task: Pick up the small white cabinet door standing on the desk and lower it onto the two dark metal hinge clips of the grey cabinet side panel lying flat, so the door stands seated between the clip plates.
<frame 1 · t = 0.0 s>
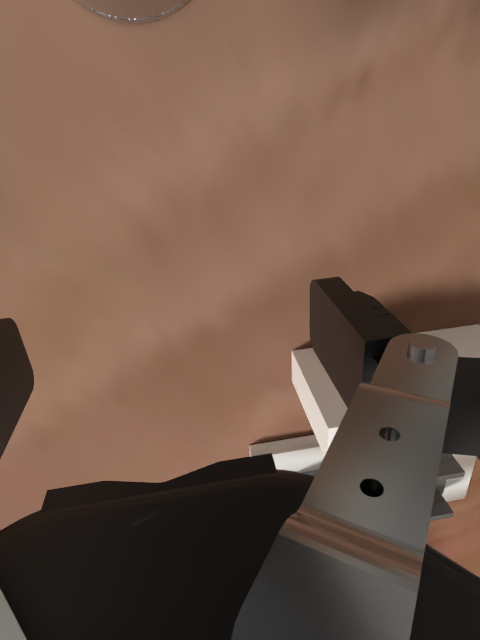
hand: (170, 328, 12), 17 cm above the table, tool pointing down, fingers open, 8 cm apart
door: (384, 351, 36), on the table
cabinet side: (361, 467, 42), on the table
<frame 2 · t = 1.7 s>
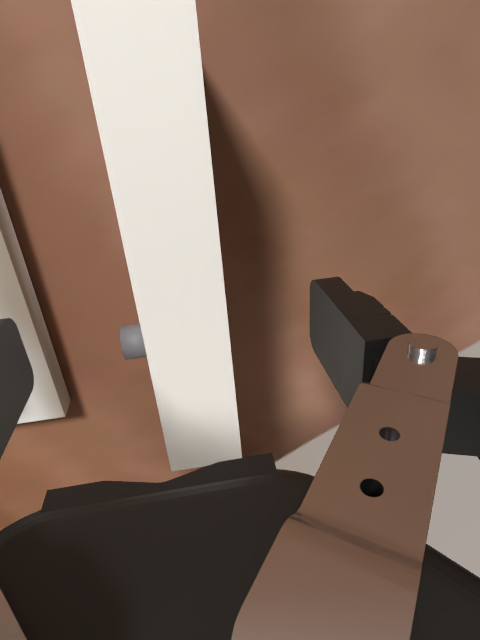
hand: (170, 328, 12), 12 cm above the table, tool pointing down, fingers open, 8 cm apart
door: (178, 223, 22), on the table
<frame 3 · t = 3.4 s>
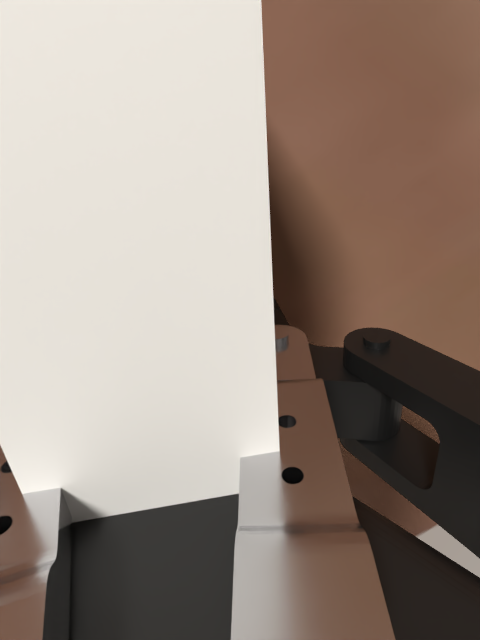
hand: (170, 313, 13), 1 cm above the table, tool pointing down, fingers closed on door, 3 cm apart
door: (171, 296, 14), on the table, touching gripper
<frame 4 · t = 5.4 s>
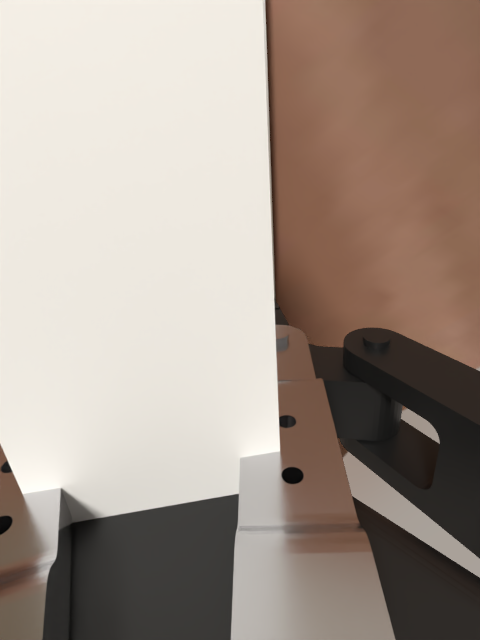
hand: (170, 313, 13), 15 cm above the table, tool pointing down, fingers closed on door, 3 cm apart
door: (171, 297, 14), point 14 cm above the table, touching gripper
cabinet side: (179, 201, 26), on the table
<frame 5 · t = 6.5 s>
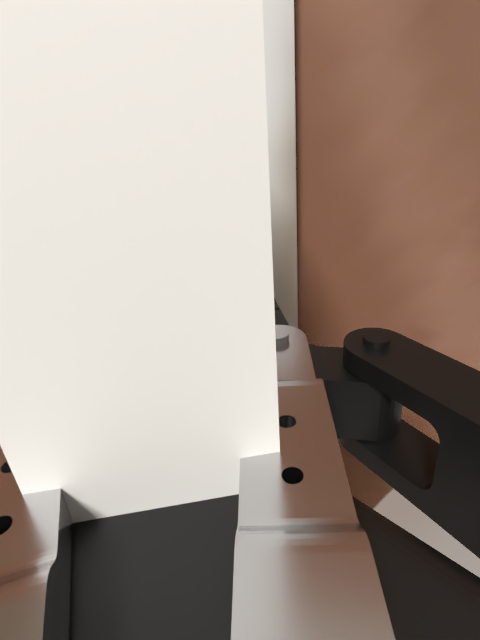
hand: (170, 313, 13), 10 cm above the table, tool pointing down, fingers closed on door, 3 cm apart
door: (171, 297, 14), point 8 cm above the table, touching gripper
cabinet side: (181, 228, 21), on the table
when the fingers open (5 cm above the table, at t = 7.6 s): door drops 2 cm, resting on cabinet side.
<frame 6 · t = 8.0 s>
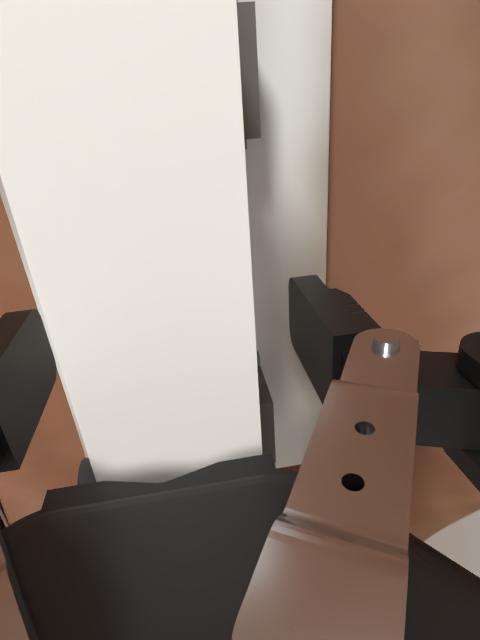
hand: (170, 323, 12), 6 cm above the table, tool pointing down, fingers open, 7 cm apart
door: (173, 274, 15), point 2 cm above the table, touching cabinet side
cabinet side: (182, 256, 17), on the table
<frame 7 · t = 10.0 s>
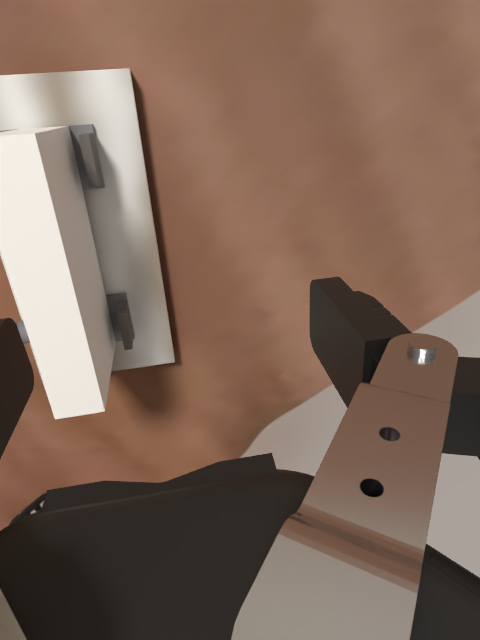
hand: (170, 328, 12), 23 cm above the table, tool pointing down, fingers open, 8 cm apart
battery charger: (37, 508, 44), on the table
door: (73, 248, 31), point 2 cm above the table, touching cabinet side
cabinet side: (82, 241, 32), on the table
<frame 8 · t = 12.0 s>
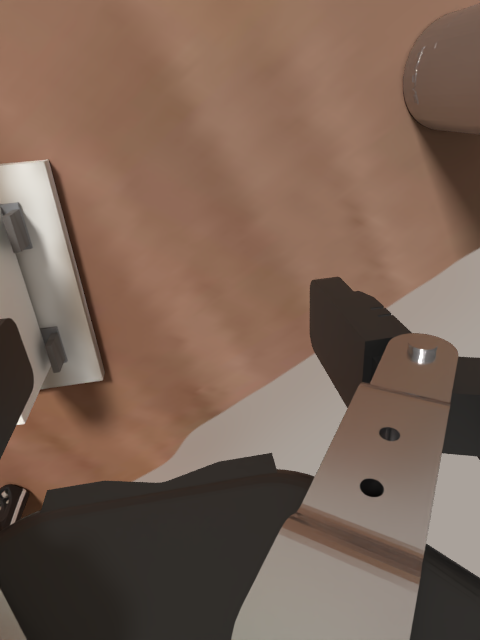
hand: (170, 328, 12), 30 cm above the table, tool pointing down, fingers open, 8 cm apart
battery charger: (1, 497, 53), on the table
door: (10, 294, 39), point 2 cm above the table, touching cabinet side
cabinet side: (21, 286, 41), on the table
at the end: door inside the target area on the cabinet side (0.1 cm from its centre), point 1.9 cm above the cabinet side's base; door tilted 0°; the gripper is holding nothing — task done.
